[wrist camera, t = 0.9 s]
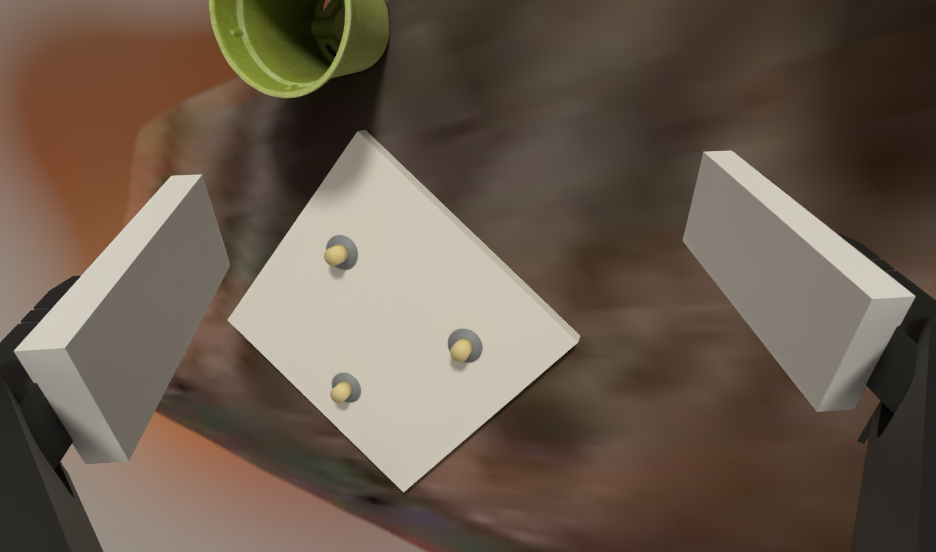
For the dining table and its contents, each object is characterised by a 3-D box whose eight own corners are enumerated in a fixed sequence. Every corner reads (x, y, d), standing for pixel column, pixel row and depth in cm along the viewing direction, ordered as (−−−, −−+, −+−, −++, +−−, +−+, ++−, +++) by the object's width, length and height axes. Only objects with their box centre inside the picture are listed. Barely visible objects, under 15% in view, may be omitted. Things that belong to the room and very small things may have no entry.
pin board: (365, 130, 41) (346, 132, 39) (580, 335, 40) (575, 351, 38) (236, 315, 51) (215, 326, 48) (409, 483, 50) (396, 503, 48)
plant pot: (440, 14, 37) (381, -8, 29) (365, 124, 41) (295, 131, 33) (340, -81, 37) (254, -127, 29) (275, 38, 41) (184, 25, 33)
